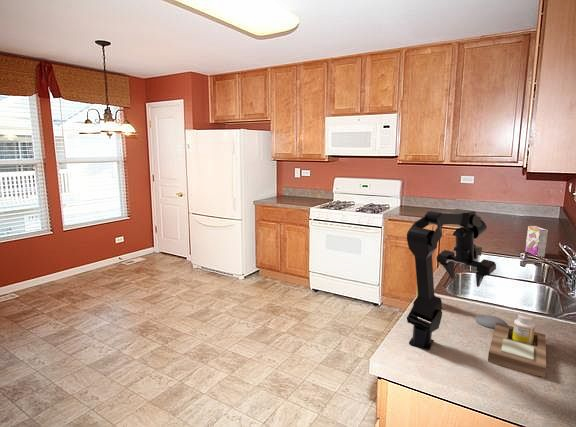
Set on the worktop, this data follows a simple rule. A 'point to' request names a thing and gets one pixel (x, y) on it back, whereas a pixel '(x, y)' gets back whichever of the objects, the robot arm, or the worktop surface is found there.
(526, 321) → the supplement bottle
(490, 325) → the rubber mat
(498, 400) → the worktop surface
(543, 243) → the candy bar box
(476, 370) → the worktop surface
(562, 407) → the worktop surface
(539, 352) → the puzzle board
